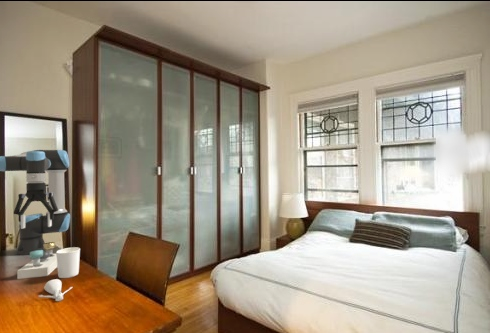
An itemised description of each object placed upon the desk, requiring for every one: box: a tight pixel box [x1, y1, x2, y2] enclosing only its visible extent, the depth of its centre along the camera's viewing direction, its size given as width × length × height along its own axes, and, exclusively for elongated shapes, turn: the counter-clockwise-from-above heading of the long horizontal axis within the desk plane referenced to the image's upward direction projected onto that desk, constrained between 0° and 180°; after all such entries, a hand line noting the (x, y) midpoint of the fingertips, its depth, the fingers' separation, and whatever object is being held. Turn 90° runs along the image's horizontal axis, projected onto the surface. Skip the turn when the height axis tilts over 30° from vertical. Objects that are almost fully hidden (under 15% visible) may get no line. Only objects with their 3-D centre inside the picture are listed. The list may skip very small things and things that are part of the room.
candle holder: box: [55, 246, 81, 279], centre depth 132 cm, size 10×10×12 cm
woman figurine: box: [38, 278, 73, 302], centre depth 111 cm, size 12×4×18 cm
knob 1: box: [29, 250, 44, 266], centre depth 134 cm, size 5×5×7 cm
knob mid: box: [40, 250, 50, 262], centre depth 142 cm, size 5×5×7 cm
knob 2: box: [44, 241, 56, 256], centre depth 149 cm, size 5×5×7 cm
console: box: [16, 253, 57, 280], centre depth 142 cm, size 25×12×4 cm, turn 17°
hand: (36, 227), depth 134 cm, fingers open, 10 cm apart
